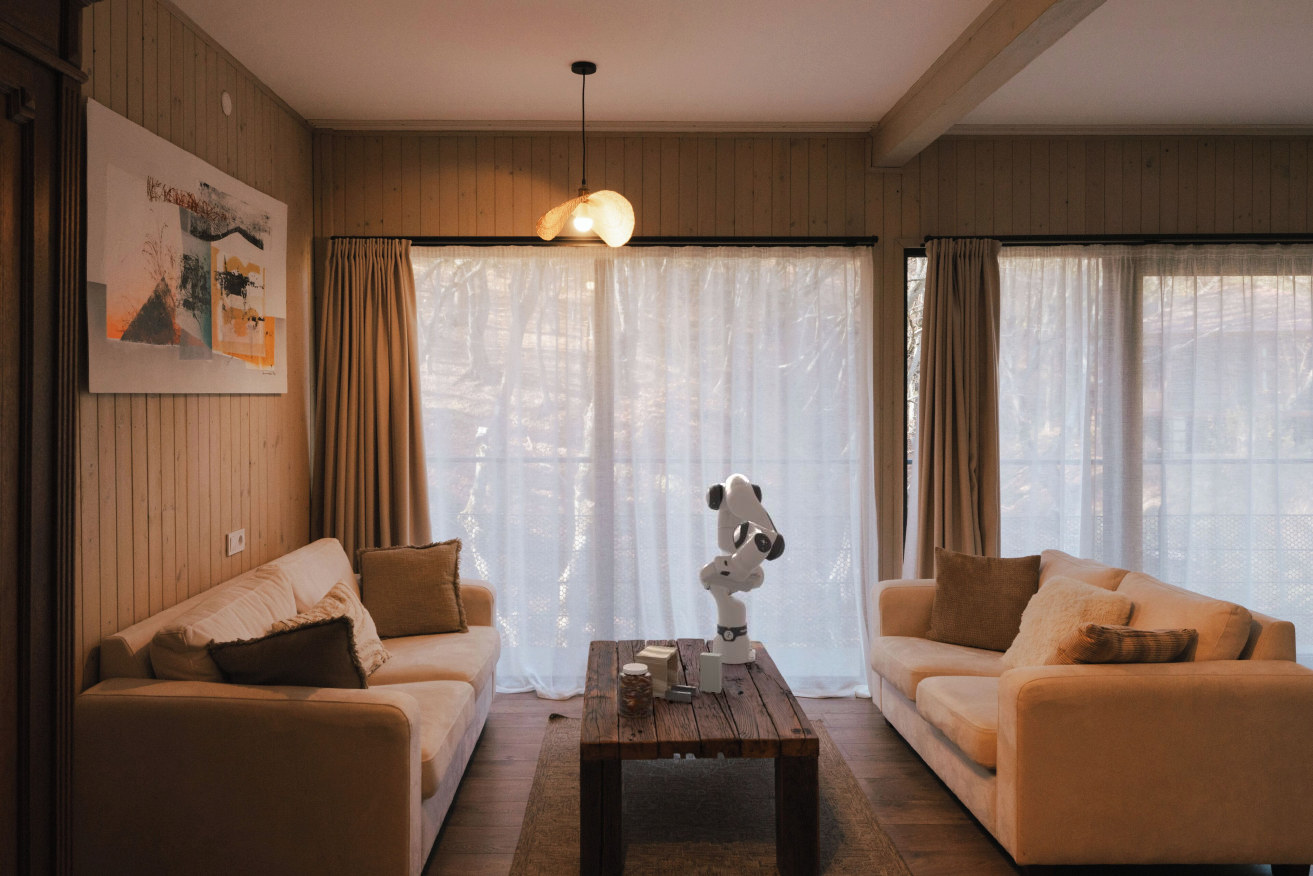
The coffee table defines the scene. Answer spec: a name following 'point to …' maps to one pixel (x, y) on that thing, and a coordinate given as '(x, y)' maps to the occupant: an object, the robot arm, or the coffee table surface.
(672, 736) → the coffee table surface
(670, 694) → the dark parallel flat bars
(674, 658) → the cabinet
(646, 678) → the jar
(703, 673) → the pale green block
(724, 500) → the robot arm
